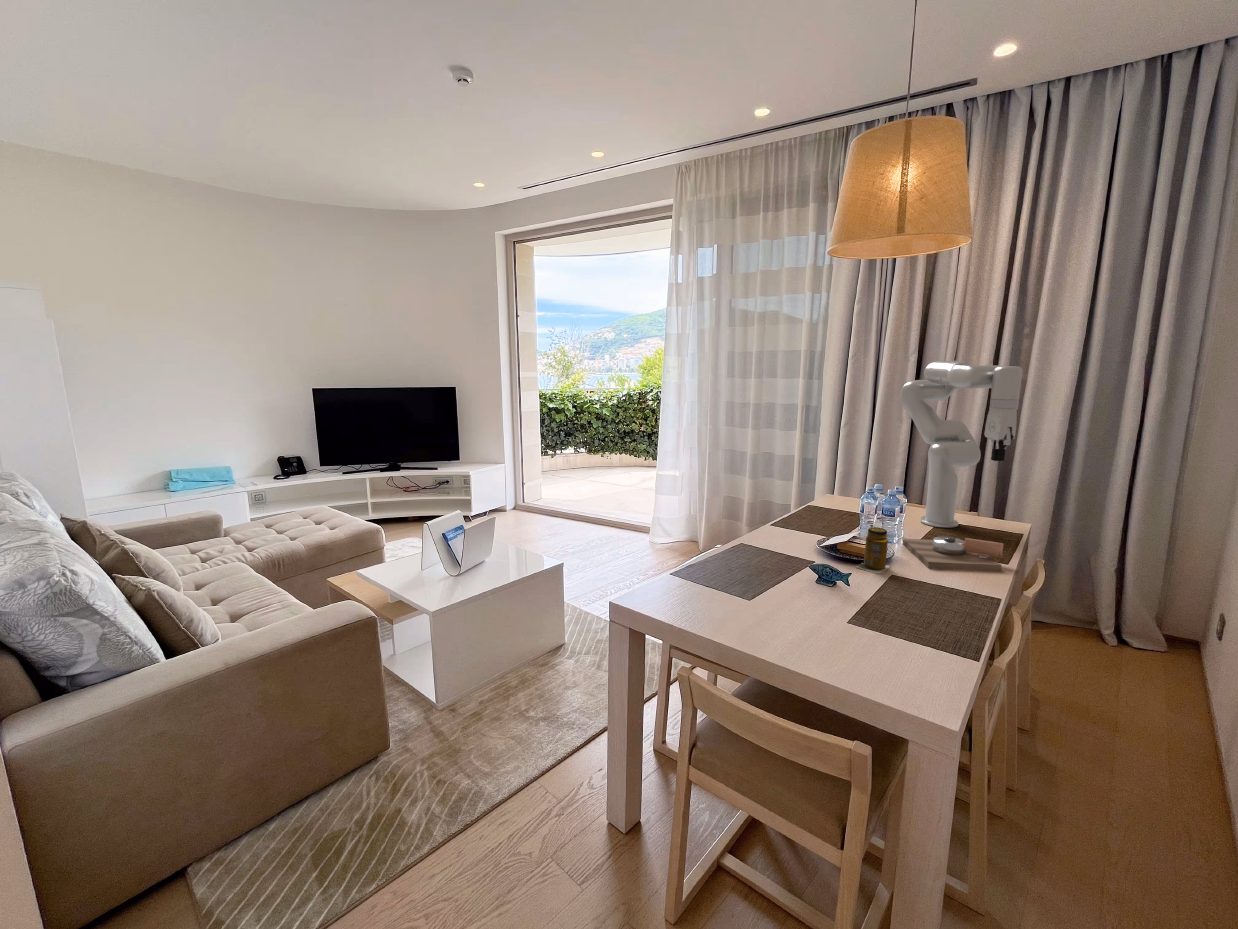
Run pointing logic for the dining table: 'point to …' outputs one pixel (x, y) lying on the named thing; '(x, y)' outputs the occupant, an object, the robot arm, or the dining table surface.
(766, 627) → the dining table surface
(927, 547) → the wooden cutting board
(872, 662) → the dining table surface
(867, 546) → the condiment
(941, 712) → the dining table surface
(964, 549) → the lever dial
